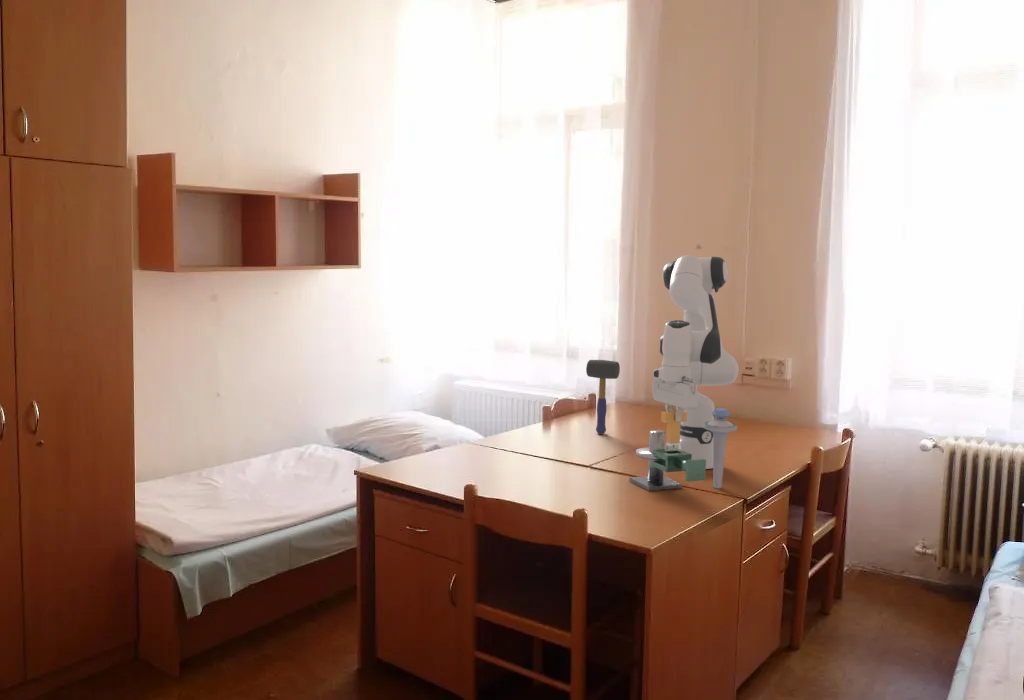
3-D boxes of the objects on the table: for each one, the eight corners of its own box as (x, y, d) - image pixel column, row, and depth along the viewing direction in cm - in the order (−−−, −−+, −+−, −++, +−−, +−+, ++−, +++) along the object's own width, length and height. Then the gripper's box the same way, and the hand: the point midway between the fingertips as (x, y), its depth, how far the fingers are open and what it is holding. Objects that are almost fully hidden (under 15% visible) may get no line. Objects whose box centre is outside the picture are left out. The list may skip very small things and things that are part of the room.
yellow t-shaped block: (660, 442, 263) (661, 411, 262) (681, 441, 266) (682, 410, 265) (664, 444, 261) (665, 413, 260) (685, 442, 264) (687, 412, 263)
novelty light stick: (733, 484, 275) (737, 407, 273) (733, 493, 266) (737, 413, 263) (701, 482, 278) (705, 405, 275) (700, 490, 268) (704, 410, 266)
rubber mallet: (583, 434, 347) (585, 359, 344) (589, 430, 354) (591, 357, 351) (613, 437, 342) (615, 362, 339) (618, 433, 349) (621, 360, 346)
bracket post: (627, 480, 277) (629, 428, 276) (662, 477, 282) (664, 426, 280) (676, 506, 251) (678, 448, 249) (713, 502, 256) (716, 445, 254)
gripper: (704, 379, 253) (702, 425, 255) (667, 370, 272) (665, 413, 273) (686, 379, 251) (684, 426, 252) (649, 370, 270) (647, 414, 271)
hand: (673, 419), depth 263 cm, fingers closed on yellow t-shaped block, 2 cm apart
